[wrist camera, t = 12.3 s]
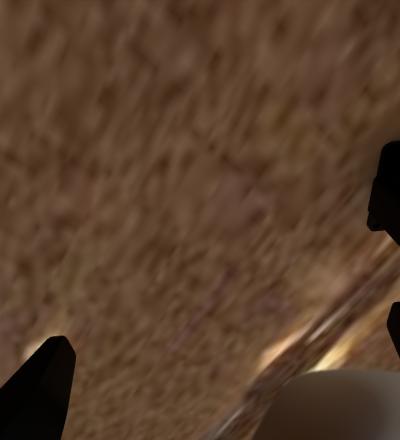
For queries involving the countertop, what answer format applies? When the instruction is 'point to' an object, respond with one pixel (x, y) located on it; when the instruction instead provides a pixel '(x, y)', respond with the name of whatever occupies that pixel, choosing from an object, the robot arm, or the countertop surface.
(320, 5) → the countertop surface
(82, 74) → the countertop surface
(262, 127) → the countertop surface
